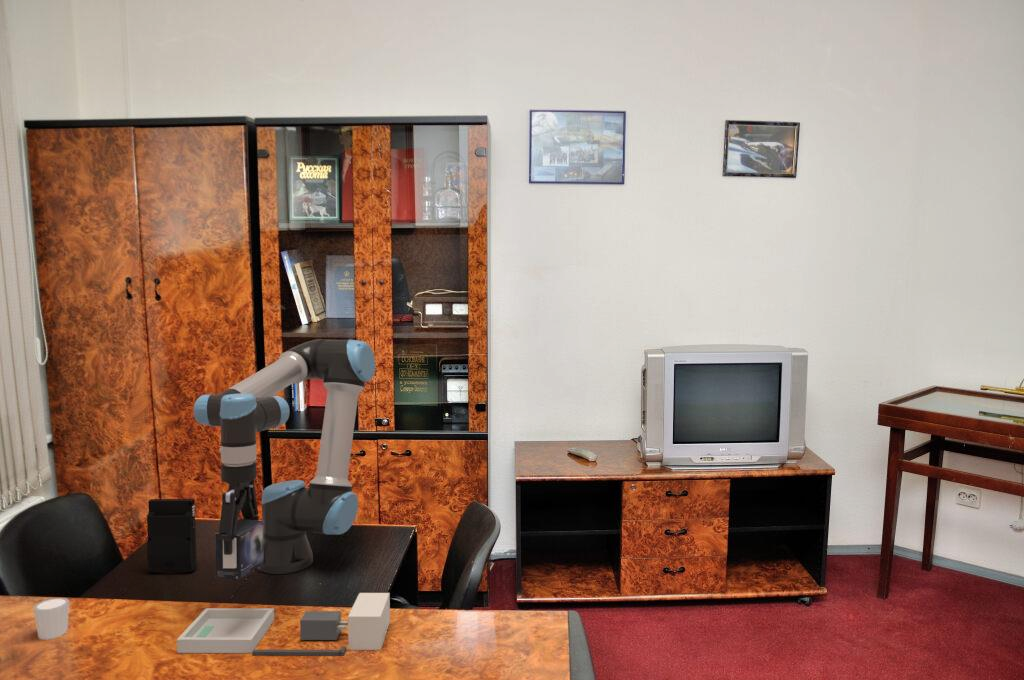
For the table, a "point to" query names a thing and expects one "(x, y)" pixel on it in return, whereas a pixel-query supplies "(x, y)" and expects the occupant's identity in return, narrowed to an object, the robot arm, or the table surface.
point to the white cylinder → (51, 618)
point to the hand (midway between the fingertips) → (239, 558)
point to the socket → (369, 621)
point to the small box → (242, 550)
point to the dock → (226, 630)
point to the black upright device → (171, 536)
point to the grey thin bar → (300, 652)
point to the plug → (321, 625)
